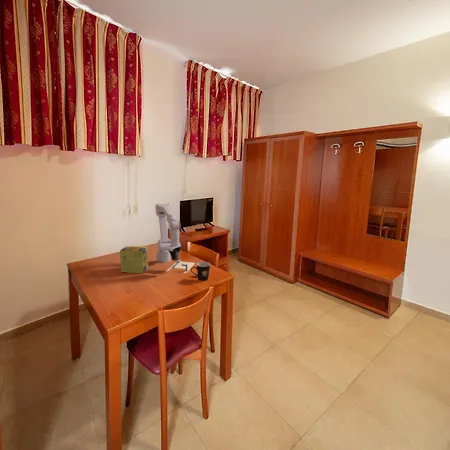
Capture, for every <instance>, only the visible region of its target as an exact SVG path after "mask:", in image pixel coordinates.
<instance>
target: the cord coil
mask: <svg viewBox="0 0 450 450" xmlns="http://www.w3.org/2000/svg"><path fill="white" fill-rule="evenodd" d="M179 257H180V252H177V253H176V259H175V260H172V261H174V262H177V261H178V260H180V258H179Z"/></svg>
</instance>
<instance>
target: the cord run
mask: <svg viewBox="0 0 450 450" xmlns="http://www.w3.org/2000/svg"><path fill="white" fill-rule="evenodd" d="M176 262H177V263H176ZM176 262H175V263H176V264H175V263H174V264H175V265H174V264H173V265H174V266H173V265H172V266H173V268H172V269H175V268H174V267H175V266H176V265H177V264H178V263H180V262H182V261H181V259H179V260H178V261H176Z"/></svg>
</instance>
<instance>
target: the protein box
mask: <svg viewBox="0 0 450 450" xmlns="http://www.w3.org/2000/svg"><path fill="white" fill-rule="evenodd" d="M148 257H149V256H148V246H130V245H129V246H127V245H126V246H124V247H123V248H122V249H120V250H119V261H120V262H119V263H120V273H122V272H127V273H126V274H128V273H130V274H144V273H145V272H146V271H147V270H148V268H149V260H148Z"/></svg>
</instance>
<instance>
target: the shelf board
mask: <svg viewBox="0 0 450 450" xmlns="http://www.w3.org/2000/svg"><path fill="white" fill-rule="evenodd" d="M176 263H177V261H175V262H174V263H173V265H172V266H170V267H169V268H168V269H167V270H166V272H169V271H170V270H171V269H181V270H182V269H183V270H184V271H183V274H187V273H188V272H190V271H191V268H192V267H194V265H195V264H196V263H195V262H191V261H190V262H188V261H181V262H180V263H178V264H177V265H176V266H175V267H174V268H173V266H174V265H175V264H176ZM182 263H183V265H186V264H187V271H186V266H182Z"/></svg>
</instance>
